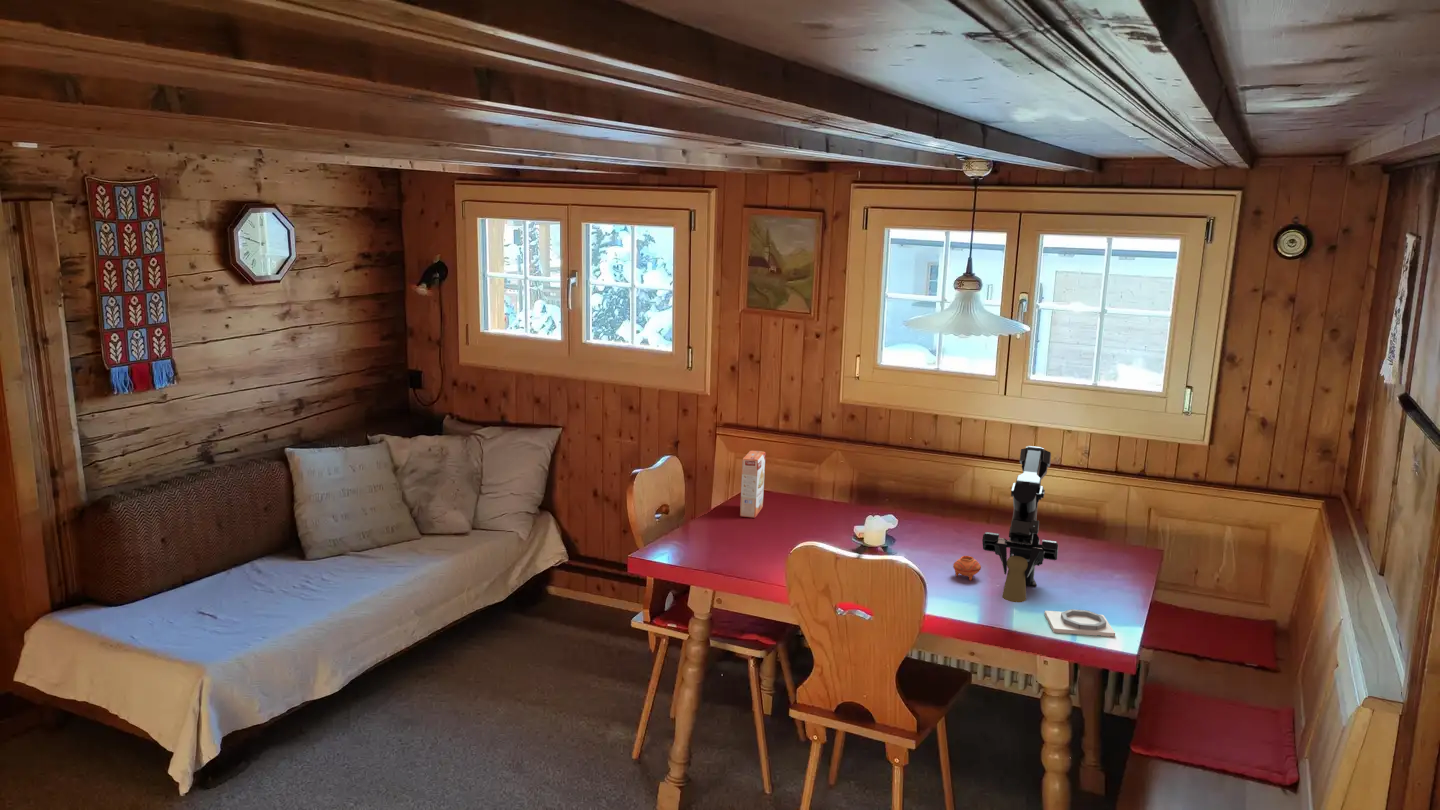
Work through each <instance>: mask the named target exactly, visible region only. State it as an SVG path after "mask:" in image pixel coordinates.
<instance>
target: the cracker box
mask: <svg viewBox="0 0 1440 810" xmlns="http://www.w3.org/2000/svg"><path fill="white" fill-rule="evenodd" d="M766 454H767V453H766V451H762V450H749V452H748V453H747V454H746V455H745V456H743V458H742V464H741V466H742V467H741V483H740V484H741V485H740V486H741V489H740V490H741V491H740V505H739V506H740V508H739V509H740V511H739V516H740V517H744V518H752V519H753V518H754V519H756V517H757V516H758V515H759V513H760V512H761V510H762V509H763V507H764V490H765V469H766V467H765V466H766Z"/></svg>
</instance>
